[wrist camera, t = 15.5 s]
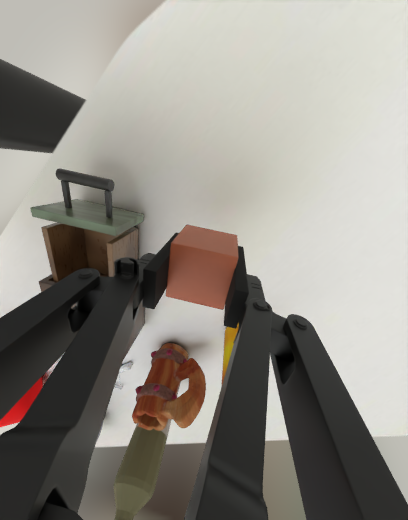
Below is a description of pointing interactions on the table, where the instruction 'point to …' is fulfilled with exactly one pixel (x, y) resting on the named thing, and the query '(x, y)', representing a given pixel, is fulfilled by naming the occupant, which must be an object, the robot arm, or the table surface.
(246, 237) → the table surface
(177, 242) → the block
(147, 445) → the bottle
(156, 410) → the mug
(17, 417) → the vase
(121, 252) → the drawer
